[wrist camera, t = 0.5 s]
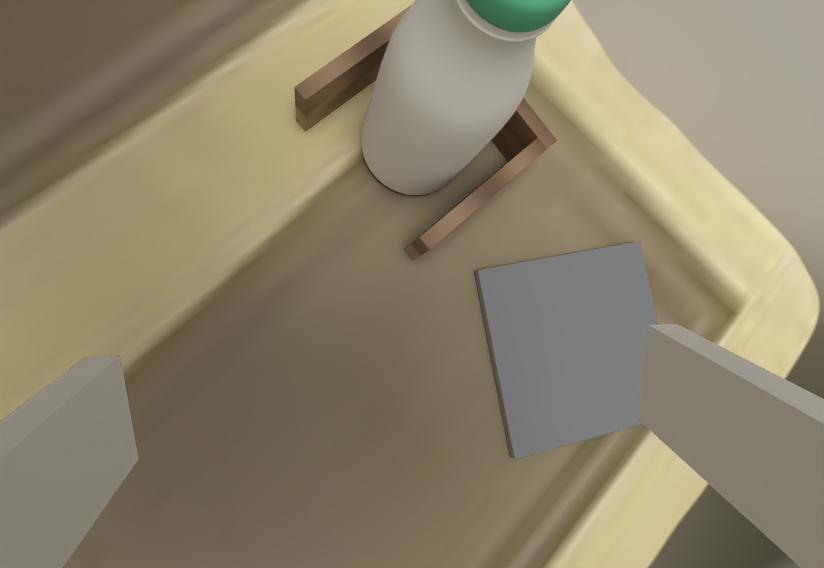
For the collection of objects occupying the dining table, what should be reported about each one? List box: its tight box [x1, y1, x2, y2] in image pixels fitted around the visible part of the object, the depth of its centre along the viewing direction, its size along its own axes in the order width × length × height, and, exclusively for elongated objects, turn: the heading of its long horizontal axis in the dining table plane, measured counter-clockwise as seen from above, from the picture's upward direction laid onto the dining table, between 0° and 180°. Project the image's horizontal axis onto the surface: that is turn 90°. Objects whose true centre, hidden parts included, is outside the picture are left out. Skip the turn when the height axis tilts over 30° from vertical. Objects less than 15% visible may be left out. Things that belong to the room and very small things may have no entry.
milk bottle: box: [361, 0, 571, 195], centre depth 27 cm, size 8×8×20 cm
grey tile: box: [474, 241, 658, 459], centre depth 38 cm, size 14×14×1 cm
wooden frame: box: [295, 6, 557, 260], centre depth 34 cm, size 12×13×5 cm
